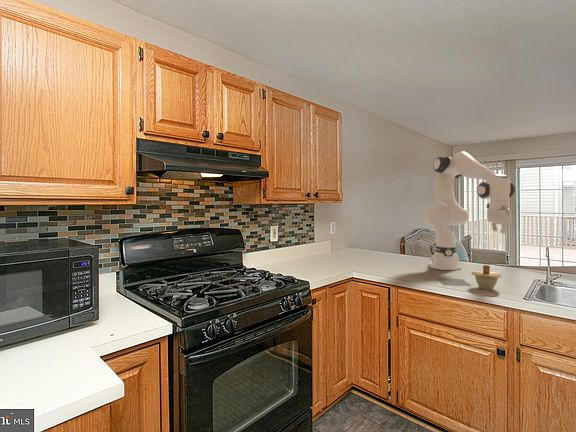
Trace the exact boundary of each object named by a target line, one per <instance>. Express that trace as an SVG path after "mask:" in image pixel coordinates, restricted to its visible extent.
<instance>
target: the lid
mask: <svg viewBox="0 0 576 432" xmlns="http://www.w3.org/2000/svg"><path fill="white" fill-rule="evenodd" d="M490 268H491V266H490V264H483V266H482V269H483V270H472V271H471V275H472V276H474V277H475V276H478V277H484V278H498V279H501V278H502V274H501V273H499V272H497V271H491V269H490Z"/></svg>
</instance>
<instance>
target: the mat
mask: <svg viewBox="0 0 576 432" xmlns="http://www.w3.org/2000/svg"><path fill="white" fill-rule="evenodd" d="M436 280H437V281H438V282H439V283H440V284H442V285H443V286H459V287H460V286H462V287H463V286H465V287H472V286H473V285H472V284H470V283H469V282H468V281H466V280H464V279H463V278H436Z"/></svg>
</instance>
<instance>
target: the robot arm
mask: <svg viewBox="0 0 576 432" xmlns="http://www.w3.org/2000/svg"><path fill="white" fill-rule="evenodd" d="M432 167H433V170H434V172H436V173H437V174H436V176H435V180H434V193H435V200H436V202H438V203H439V204H440V205H442V206H443V207H434V208H430V209H427V210H426V212H425V213H424V220H425V222H426V223H427V224H428V225H429V226H431V228H432V229H433V230H434V232H435V237H436V239H435V241H436V245H435V249H434V250H435V253H434V254H433V255H432V256H430V261H429V262H428V264H429V265H428V266H429V268H431V269H437V270H443V271H455V270H456V271H457V270H459V269H460V270H461V269H462V267H461V266H460V263H459V261H460V260H459V255H458V254H457V247H456V239H457V238H456V234H455V233H454V232H453V231H451V230H450V229H447V227H446V226H460V225H465V224H466V223H467V222H468V220H469V213H468V211H467V210H466V209H465V208H463V207H462V206H461V205H460V204H459V203H458V202H457V200H456V197H455V191H454V179H459V178H460V177H464V178H467V179H474V180H475V179H476V180H483V181H481V182H480V183H479V184H478V185H477V188H476V194H477V195H478V197H479V198H481V199H484V200H489V203H487V204H486V211H487V213H486V214H487V215H486V217H487V221H488V222H489V223H491V227H492V231H493V232H497V231H498V227H497V225H498V224H499V225H501V229H500V231H499V232H500V234H503V235H504V234H506V230H507V228H508V226H511V225H512V223H513V218H512V217H513V215H512V214H513V213H512V210H511V209H510V208H511V206H510V204H511V203H510V202H511V198H512V197H513V196H514V194H515V192H516V187H515V185H514V183H513V182H512V181H511V179H510V177H509V176H508V175H506V174H501V173H500V174H498V173H496V172H495V171H494V170H492V169H490V168H489V167H487V166H486V165H484V164H482V163H480V162H479V161H478V160H477V159H476V158H474V157H473V156H472V155H471V154H469V153H468V152H466V151H458V152H456V153H455V154H454V155H453V157H449V156H438V157H436V159H434V161H433V165H432Z"/></svg>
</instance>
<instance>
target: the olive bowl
mask: <svg viewBox="0 0 576 432" xmlns="http://www.w3.org/2000/svg"><path fill="white" fill-rule="evenodd" d="M474 277H475V281H476V283H477V285H478V287H479V289H481V290H487V291H491V290H493V289H494V287H495V286H496V285H497V282H498V279H499V278H484V277H478V276H474Z"/></svg>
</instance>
